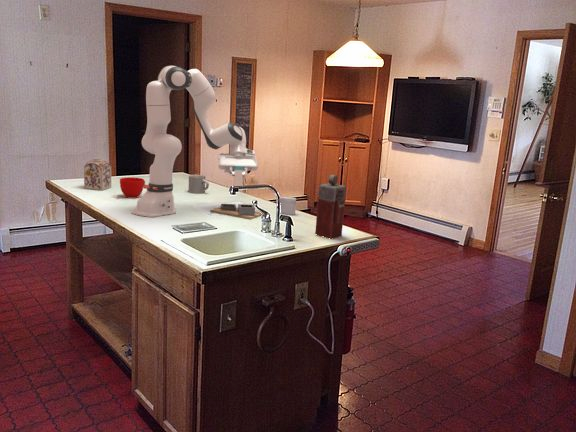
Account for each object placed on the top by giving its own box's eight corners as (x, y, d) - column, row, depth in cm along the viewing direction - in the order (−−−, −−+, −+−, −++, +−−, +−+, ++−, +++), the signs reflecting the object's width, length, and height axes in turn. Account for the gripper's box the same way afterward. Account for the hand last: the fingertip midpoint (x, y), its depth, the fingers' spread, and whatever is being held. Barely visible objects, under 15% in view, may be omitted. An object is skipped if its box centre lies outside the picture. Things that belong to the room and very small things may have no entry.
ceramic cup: (153, 195, 302) (153, 178, 299) (133, 200, 286) (133, 182, 284) (135, 192, 307) (135, 175, 304) (114, 196, 292) (114, 179, 289)
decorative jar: (102, 190, 306) (101, 160, 302) (83, 189, 307) (83, 158, 303) (112, 187, 317) (111, 158, 313) (94, 185, 319) (93, 156, 315)
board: (250, 219, 261) (250, 217, 260) (210, 212, 271) (210, 210, 271) (263, 214, 273) (264, 212, 273) (225, 207, 283) (225, 206, 283)
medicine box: (295, 214, 280) (296, 198, 278) (293, 215, 276) (294, 199, 274) (281, 212, 282) (282, 196, 280) (278, 213, 278) (279, 197, 276)
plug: (242, 187, 268) (243, 166, 266) (234, 187, 268) (235, 166, 265) (241, 186, 272) (242, 165, 270) (233, 186, 272) (234, 164, 269)
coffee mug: (185, 191, 321) (185, 175, 318) (197, 190, 328) (197, 174, 326) (199, 195, 313) (200, 178, 310) (212, 193, 320) (212, 177, 318)
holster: (235, 211, 273) (235, 207, 272) (221, 210, 272) (221, 206, 271) (235, 207, 280) (235, 204, 279) (221, 207, 279) (221, 203, 278)
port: (254, 215, 265) (255, 208, 264) (238, 215, 264) (239, 207, 263) (253, 212, 273) (253, 204, 272) (237, 211, 271) (238, 204, 271)
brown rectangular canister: (335, 240, 233) (340, 177, 227) (314, 234, 240) (319, 174, 234) (346, 236, 240) (351, 176, 234) (326, 231, 247) (331, 172, 241)
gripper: (218, 149, 271) (218, 171, 264) (257, 151, 274) (258, 172, 267) (217, 157, 276) (217, 178, 269) (256, 158, 279) (257, 180, 272)
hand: (238, 175), depth 268 cm, fingers closed on plug, 4 cm apart
